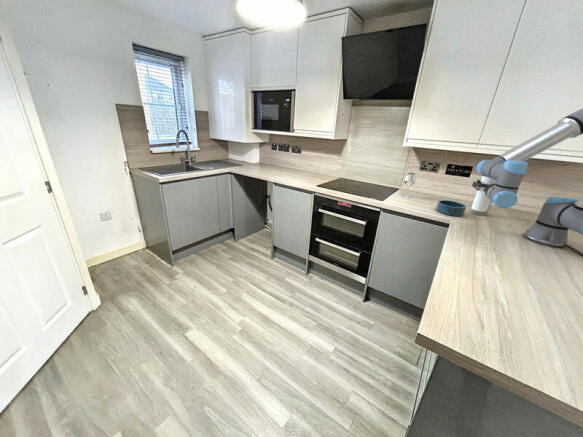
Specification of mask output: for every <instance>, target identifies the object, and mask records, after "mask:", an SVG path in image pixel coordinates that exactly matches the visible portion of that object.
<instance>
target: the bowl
mask: <svg viewBox="0 0 583 437" xmlns="http://www.w3.org/2000/svg"><path fill="white" fill-rule="evenodd" d="M466 209H467V205H466V204H464V203H463V202H459V201H454V200H447V199H441V200H438V201H437V204H436V208H435V210H436V211H437V212H439V213H441V214H443V215H446V216H452V217H460V216H461V217H462V216H464V215H465V212H466Z"/></svg>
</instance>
